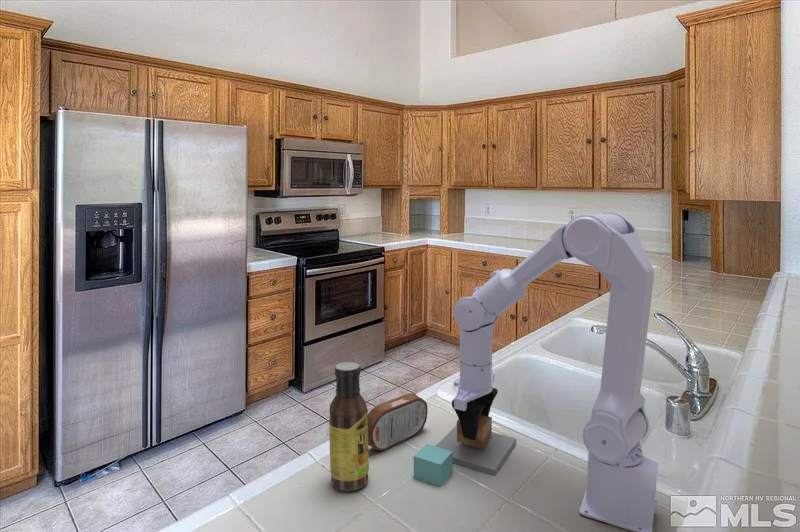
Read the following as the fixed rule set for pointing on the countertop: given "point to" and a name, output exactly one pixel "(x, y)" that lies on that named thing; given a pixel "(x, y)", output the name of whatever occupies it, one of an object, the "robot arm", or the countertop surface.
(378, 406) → the tin
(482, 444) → the walnut brick
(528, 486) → the countertop surface
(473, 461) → the baseplate
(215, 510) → the countertop surface
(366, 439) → the sauce bottle
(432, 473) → the teal brick
